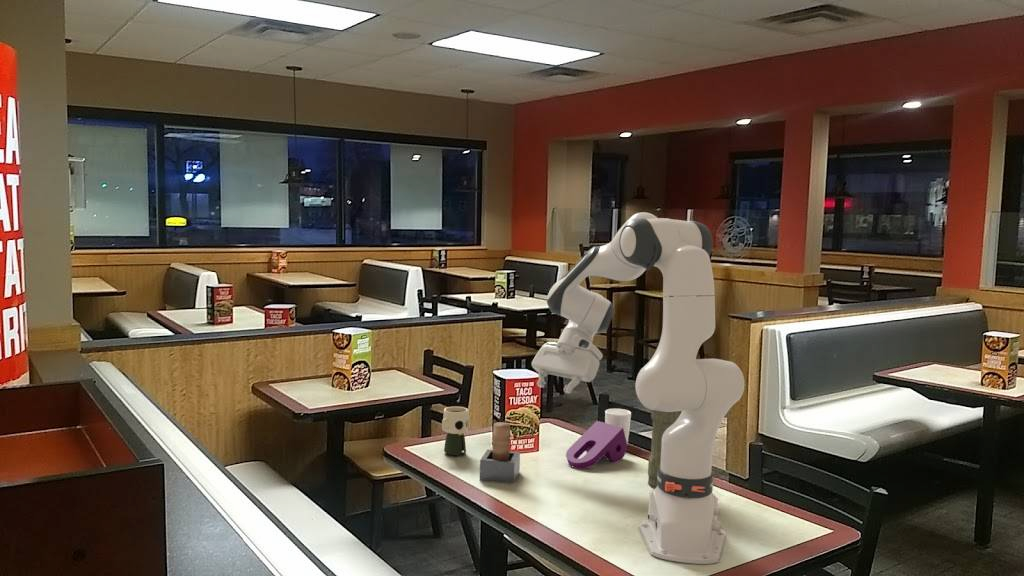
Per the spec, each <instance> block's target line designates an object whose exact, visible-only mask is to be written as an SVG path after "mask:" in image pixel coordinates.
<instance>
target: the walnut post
mask: <svg viewBox="0 0 1024 576" xmlns="http://www.w3.org/2000/svg"><path fill="white" fill-rule="evenodd" d="M492 433H493V434H492V450H493V456H492V459H494V460H505V461H509V451H510V446H511V445H510V443H511V423H509V422H508V423H507V422H503V421H502V422H501V421H499V422H495V423H493V432H492Z"/></svg>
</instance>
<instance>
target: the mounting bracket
mask: <svg viewBox="0 0 1024 576" xmlns="http://www.w3.org/2000/svg"><path fill="white" fill-rule="evenodd" d="M627 447H628V444H627V441H626V437H625V434H624V430H623V428H622V427H618V426H614V425H611V424H607V423H605V422H603V421H599V420H596V421H595V422H594V423H593V424H592V425H591V426H590V427H589V428H588V429H587V430H586V431H585V432H584V433H583V434H582V435H581V436H579V438H578V439H577V440H576V441H575V442H574V443H573V444H572V445H571V446H570V447H569V448H568V449H567V451H566V454H565V457H566V461H567V463H568V465H569V466H570V465H571V466H570V467H572V466H573V467H572V468H576V469H579V470H580V469H581V470H582V469H583V470H584V469H588V468H591V467H593V466H595V464H597V463H598V461H600V460H601V459H602V457H604V458H605V459H606V460H607V461H610V462H613V463H617V462H619V461H622V460H623V458H624V457H625V455H626V452H627ZM585 452H586V453H585ZM584 453H585V455H584V456H583V457H581V456H582V455H583V454H584ZM580 457H581V458H580ZM616 461H617V462H616Z"/></svg>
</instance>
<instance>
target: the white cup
mask: <svg viewBox="0 0 1024 576" xmlns="http://www.w3.org/2000/svg"><path fill="white" fill-rule="evenodd" d="M604 413H605V414H604V415H605V416H604V423H607V424H611V425H614V426H618V427H622V428H623V430H624V434H625V437H626V441H627V445H628V444H629V435H630V430H631V428H630V427H631V418H632V412H631V411H630V410H628V409H625V408H624V409H623V408H608V409H606V410H604Z"/></svg>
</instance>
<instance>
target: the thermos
mask: <svg viewBox="0 0 1024 576" xmlns="http://www.w3.org/2000/svg"><path fill="white" fill-rule="evenodd" d="M681 412H682V411H676V412H662V411H655V410H651V412H650V413H651V414H650V416H651V417H650V418H651V420H652V430H651V447H650V450H651V451H650V455H649V458H648V464H647V465H648V466H647V467H648V468H647V474H648V475H647V476H648V481H647V484H648V486H649V487H650V488H651V489H653V490H654V489H655V488H656V487H657V486H658V485H657V473H658V468H659V467H660V461H661V443H662V436H663V433H664V432H665V430H666V429H667V428H668V427H670V426H671V425H672V424H673V423H674V422H675V421H676V420H677V419H678V417H679V416H680V414H681Z"/></svg>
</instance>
